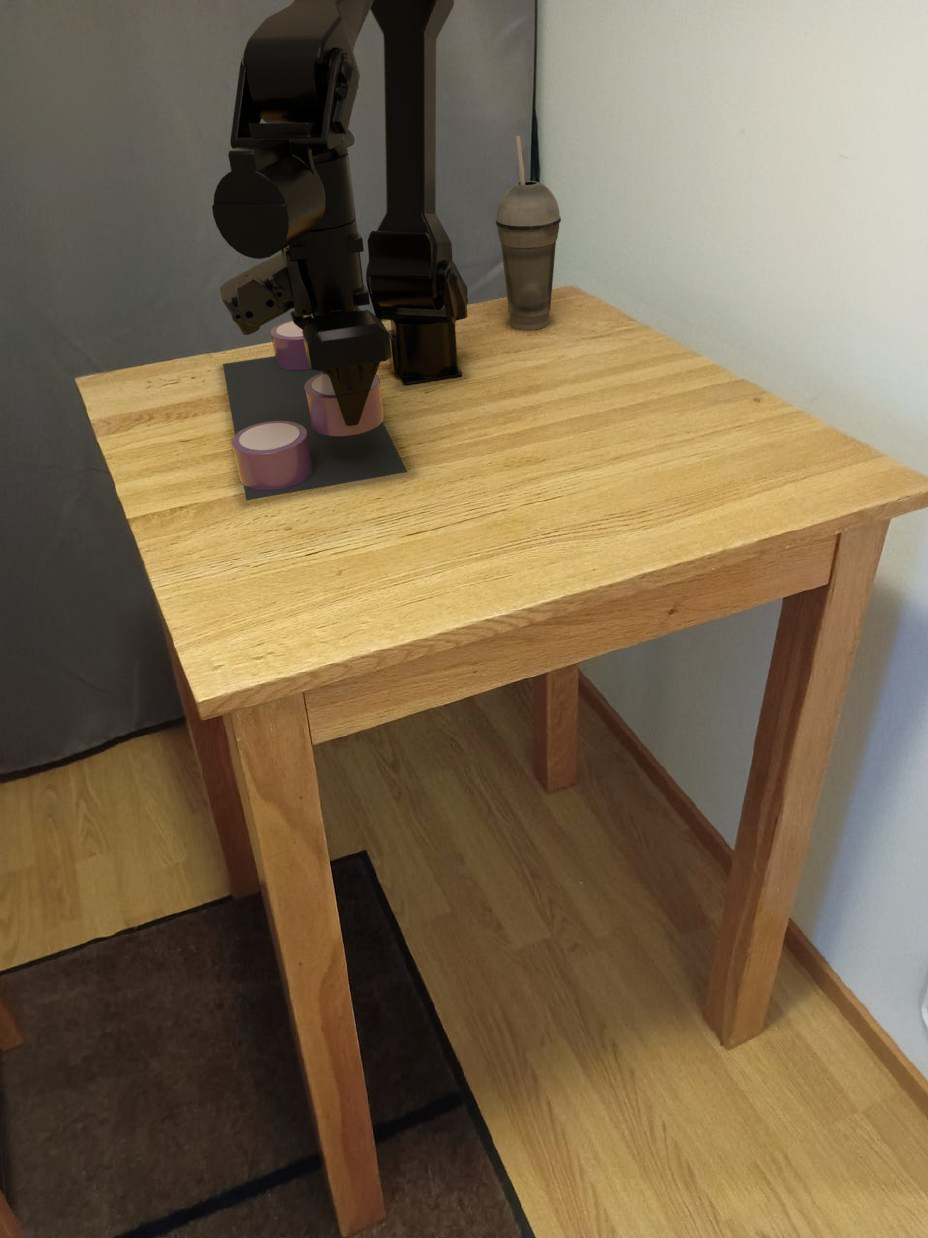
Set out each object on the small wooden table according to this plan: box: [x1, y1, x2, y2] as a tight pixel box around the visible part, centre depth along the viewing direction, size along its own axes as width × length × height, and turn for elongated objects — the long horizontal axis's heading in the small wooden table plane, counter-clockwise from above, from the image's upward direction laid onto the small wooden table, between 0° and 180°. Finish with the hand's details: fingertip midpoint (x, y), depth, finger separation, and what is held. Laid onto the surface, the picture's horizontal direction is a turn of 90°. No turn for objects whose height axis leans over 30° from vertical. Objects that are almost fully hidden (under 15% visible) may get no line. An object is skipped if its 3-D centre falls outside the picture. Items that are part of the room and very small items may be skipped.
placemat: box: [222, 355, 408, 501], centre depth 93 cm, size 14×33×1 cm, turn 15°
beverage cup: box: [495, 135, 562, 331], centre depth 104 cm, size 7×7×20 cm
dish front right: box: [231, 421, 313, 491], centre depth 81 cm, size 6×6×4 cm
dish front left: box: [304, 373, 385, 436], centre depth 81 cm, size 6×6×4 cm
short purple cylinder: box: [270, 320, 311, 370], centre depth 103 cm, size 6×6×4 cm
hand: (345, 409), depth 81 cm, fingers closed on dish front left, 6 cm apart
